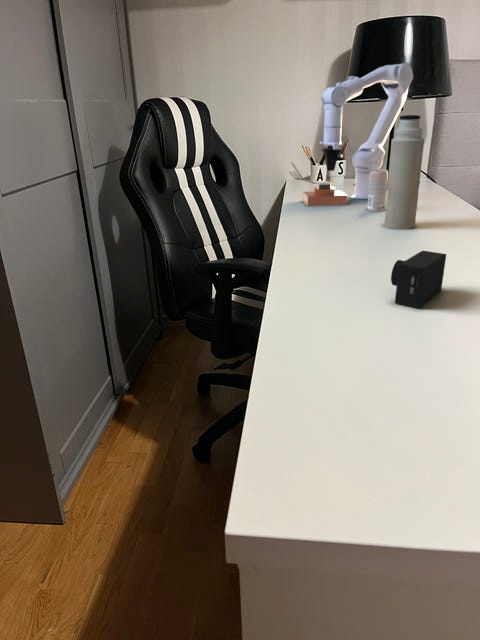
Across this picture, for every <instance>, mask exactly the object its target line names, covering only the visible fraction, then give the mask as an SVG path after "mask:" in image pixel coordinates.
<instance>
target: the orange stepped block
mask: <svg viewBox="0 0 480 640" xmlns="http://www.w3.org/2000/svg"><path fill="white" fill-rule="evenodd" d="M302 202H303V203H304V204H305V205H306V206H307V207H321V206H323V207H326V206H347V204H348V194H346V193H345V192H343V191H341V190H336V187H335V186H331V189H319V186H314V188H313V190H312V191H302Z"/></svg>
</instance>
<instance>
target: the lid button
mask: <svg viewBox="0 0 480 640" xmlns="http://www.w3.org/2000/svg"><path fill="white" fill-rule="evenodd" d="M318 187H319V189H331V187H332V183H330V182H320V183H318Z"/></svg>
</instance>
